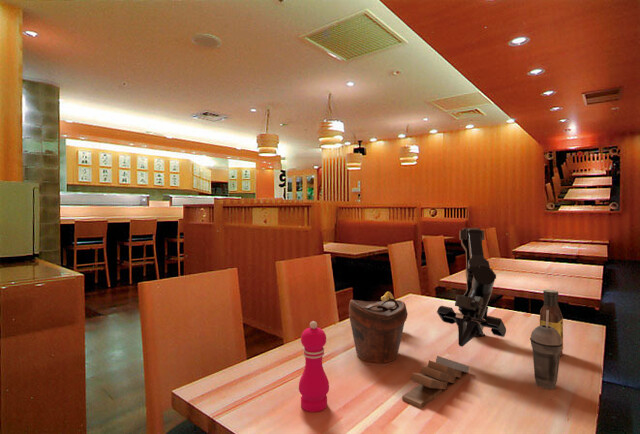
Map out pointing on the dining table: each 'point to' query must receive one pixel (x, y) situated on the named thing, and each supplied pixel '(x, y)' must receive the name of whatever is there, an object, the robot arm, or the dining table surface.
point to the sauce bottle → (552, 312)
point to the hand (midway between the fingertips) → (460, 345)
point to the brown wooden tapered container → (377, 328)
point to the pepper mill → (313, 370)
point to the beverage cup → (546, 354)
